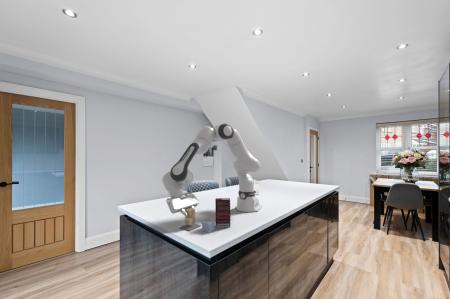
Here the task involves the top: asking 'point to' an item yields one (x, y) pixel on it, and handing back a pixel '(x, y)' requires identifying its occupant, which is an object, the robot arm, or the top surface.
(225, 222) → the supplement box
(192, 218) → the oak block
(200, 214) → the top surface
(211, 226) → the blue-grey cube
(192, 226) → the charcoal mat
